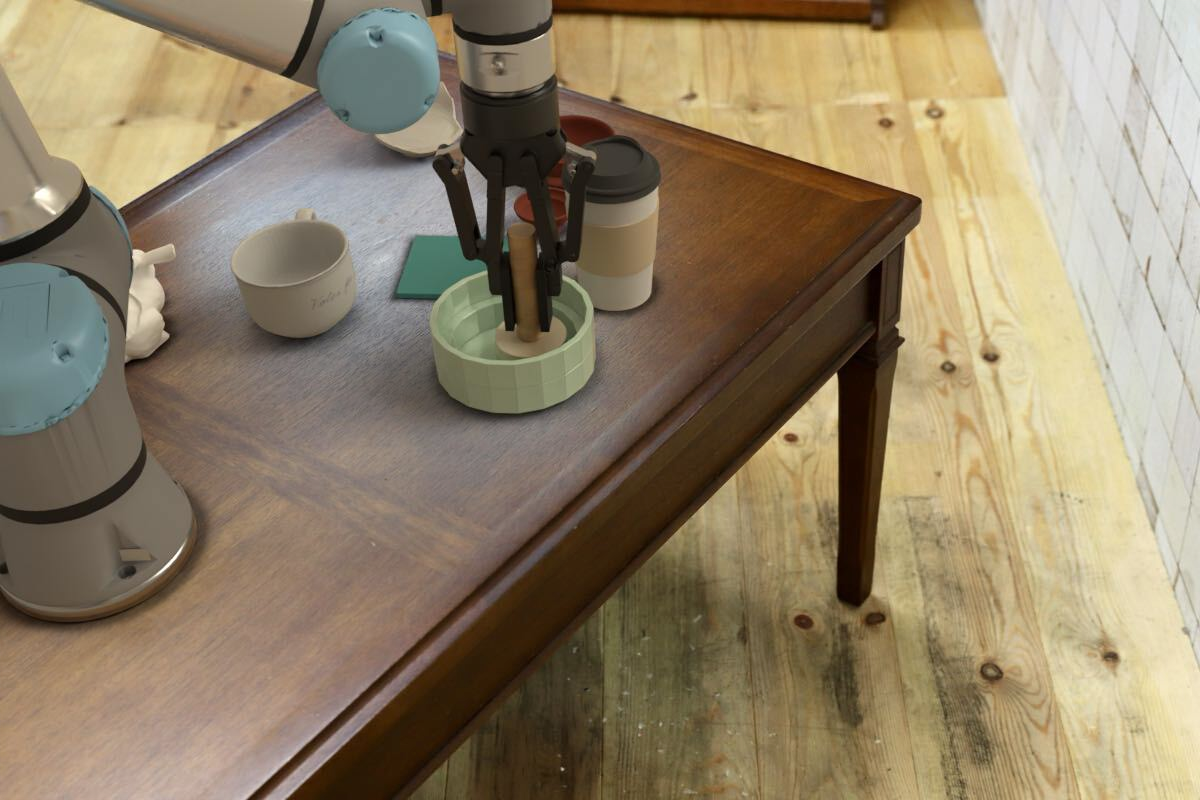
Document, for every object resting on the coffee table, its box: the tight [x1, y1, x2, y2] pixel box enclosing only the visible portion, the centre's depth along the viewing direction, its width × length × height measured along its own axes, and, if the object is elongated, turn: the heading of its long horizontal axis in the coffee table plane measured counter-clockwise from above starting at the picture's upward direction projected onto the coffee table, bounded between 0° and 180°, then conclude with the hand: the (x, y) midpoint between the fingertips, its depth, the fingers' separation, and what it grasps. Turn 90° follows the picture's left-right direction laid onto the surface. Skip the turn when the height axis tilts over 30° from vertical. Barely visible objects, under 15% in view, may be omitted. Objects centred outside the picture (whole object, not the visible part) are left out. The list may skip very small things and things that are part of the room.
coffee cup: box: [561, 134, 662, 312], centre depth 127 cm, size 9×9×15 cm
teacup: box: [229, 207, 358, 339], centre depth 129 cm, size 14×11×8 cm
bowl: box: [428, 270, 597, 414], centre depth 122 cm, size 14×14×6 cm
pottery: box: [513, 114, 617, 237], centre depth 144 cm, size 12×20×4 cm, turn 168°
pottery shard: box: [370, 81, 464, 158], centre depth 154 cm, size 10×11×5 cm
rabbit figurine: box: [125, 243, 177, 364], centre depth 126 cm, size 12×8×10 cm, turn 165°
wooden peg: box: [494, 221, 567, 361], centre depth 119 cm, size 6×6×14 cm
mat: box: [395, 234, 509, 300], centre depth 136 cm, size 10×10×1 cm
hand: (529, 321), depth 120 cm, fingers closed on wooden peg, 2 cm apart
